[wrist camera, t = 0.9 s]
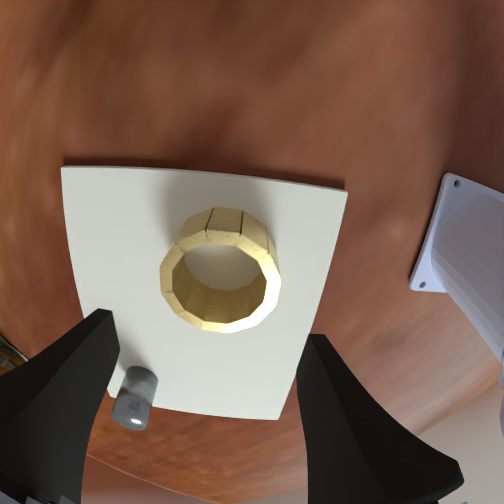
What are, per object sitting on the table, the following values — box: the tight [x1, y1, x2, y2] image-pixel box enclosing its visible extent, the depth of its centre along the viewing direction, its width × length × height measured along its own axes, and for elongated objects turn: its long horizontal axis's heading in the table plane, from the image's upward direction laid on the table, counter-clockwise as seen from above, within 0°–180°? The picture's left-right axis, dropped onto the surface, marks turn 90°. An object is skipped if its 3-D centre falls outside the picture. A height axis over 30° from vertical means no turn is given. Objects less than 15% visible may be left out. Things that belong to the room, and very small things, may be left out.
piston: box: [110, 366, 158, 430], centre depth 19 cm, size 3×3×4 cm
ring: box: [159, 207, 281, 333], centre depth 15 cm, size 6×6×3 cm
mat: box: [61, 166, 348, 420], centre depth 19 cm, size 16×21×1 cm
